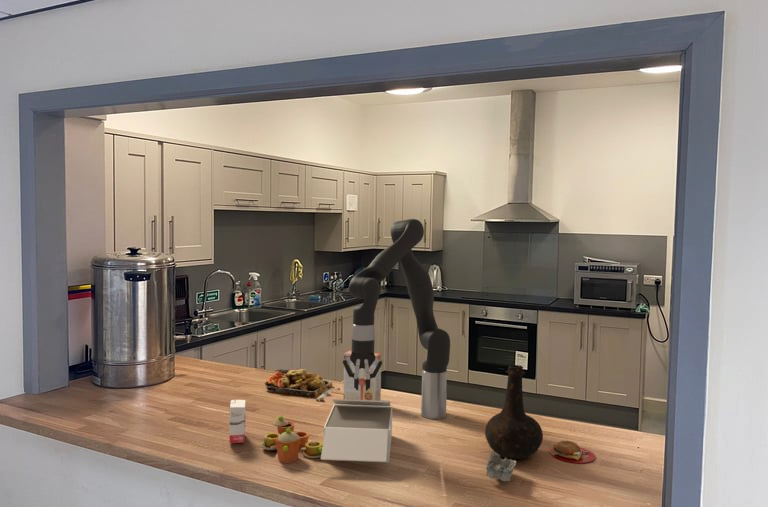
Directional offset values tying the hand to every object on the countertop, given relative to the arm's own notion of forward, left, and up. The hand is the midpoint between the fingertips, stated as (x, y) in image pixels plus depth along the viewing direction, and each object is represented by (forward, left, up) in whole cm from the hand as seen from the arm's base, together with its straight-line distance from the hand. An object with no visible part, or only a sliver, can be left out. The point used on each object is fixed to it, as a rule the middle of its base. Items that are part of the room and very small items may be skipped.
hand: (362, 389), depth 185 cm
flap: (0, -5, -7) cm, 8 cm away
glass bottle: (-49, +6, -17) cm, 52 cm away
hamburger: (-68, +4, -18) cm, 70 cm away
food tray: (+32, -54, -18) cm, 66 cm away
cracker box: (+3, -37, -17) cm, 41 cm away
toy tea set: (+22, +9, -17) cm, 30 cm away
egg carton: (-40, +23, -18) cm, 49 cm away
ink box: (+41, +3, -17) cm, 44 cm away
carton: (0, +6, -17) cm, 18 cm away
